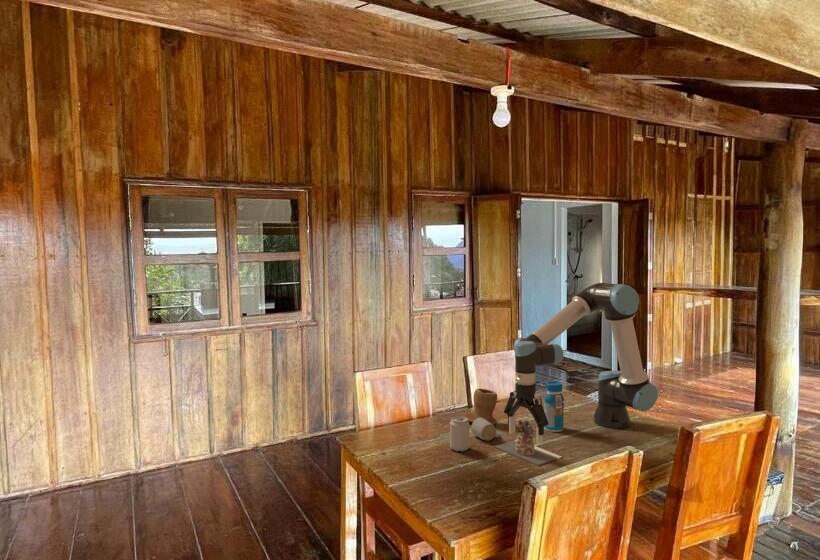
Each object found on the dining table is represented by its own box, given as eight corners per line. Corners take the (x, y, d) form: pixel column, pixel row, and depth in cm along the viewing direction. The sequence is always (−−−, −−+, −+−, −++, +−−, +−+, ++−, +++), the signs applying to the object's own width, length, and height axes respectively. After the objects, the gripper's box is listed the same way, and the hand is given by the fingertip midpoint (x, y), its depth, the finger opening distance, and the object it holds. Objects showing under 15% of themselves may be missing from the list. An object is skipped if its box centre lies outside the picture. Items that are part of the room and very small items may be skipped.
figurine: (530, 456, 198) (531, 425, 198) (512, 452, 202) (513, 421, 201) (537, 450, 205) (537, 419, 204) (519, 446, 208) (519, 416, 208)
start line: (517, 440, 217) (517, 439, 217) (561, 457, 199) (561, 456, 199) (514, 441, 216) (514, 440, 216) (558, 458, 198) (558, 457, 198)
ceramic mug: (482, 443, 214) (482, 424, 213) (470, 436, 221) (471, 418, 221) (503, 439, 219) (504, 420, 218) (491, 433, 226) (492, 415, 225)
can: (471, 446, 210) (471, 416, 210) (466, 453, 203) (466, 422, 203) (452, 444, 213) (452, 414, 212) (447, 451, 206) (447, 420, 205)
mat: (512, 441, 215) (512, 440, 215) (556, 459, 197) (556, 458, 197) (494, 447, 209) (494, 446, 209) (538, 465, 192) (538, 464, 192)
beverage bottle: (542, 431, 227) (542, 384, 226) (544, 424, 235) (545, 380, 234) (562, 433, 224) (563, 386, 223) (564, 427, 232) (565, 381, 231)
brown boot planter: (502, 422, 239) (502, 389, 238) (488, 429, 230) (488, 395, 229) (474, 415, 248) (474, 383, 247) (459, 422, 239) (459, 389, 238)
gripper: (494, 377, 210) (495, 430, 211) (544, 391, 189) (544, 450, 191) (508, 374, 214) (508, 426, 215) (558, 388, 194) (558, 445, 195)
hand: (525, 437), depth 203 cm, fingers open, 13 cm apart
